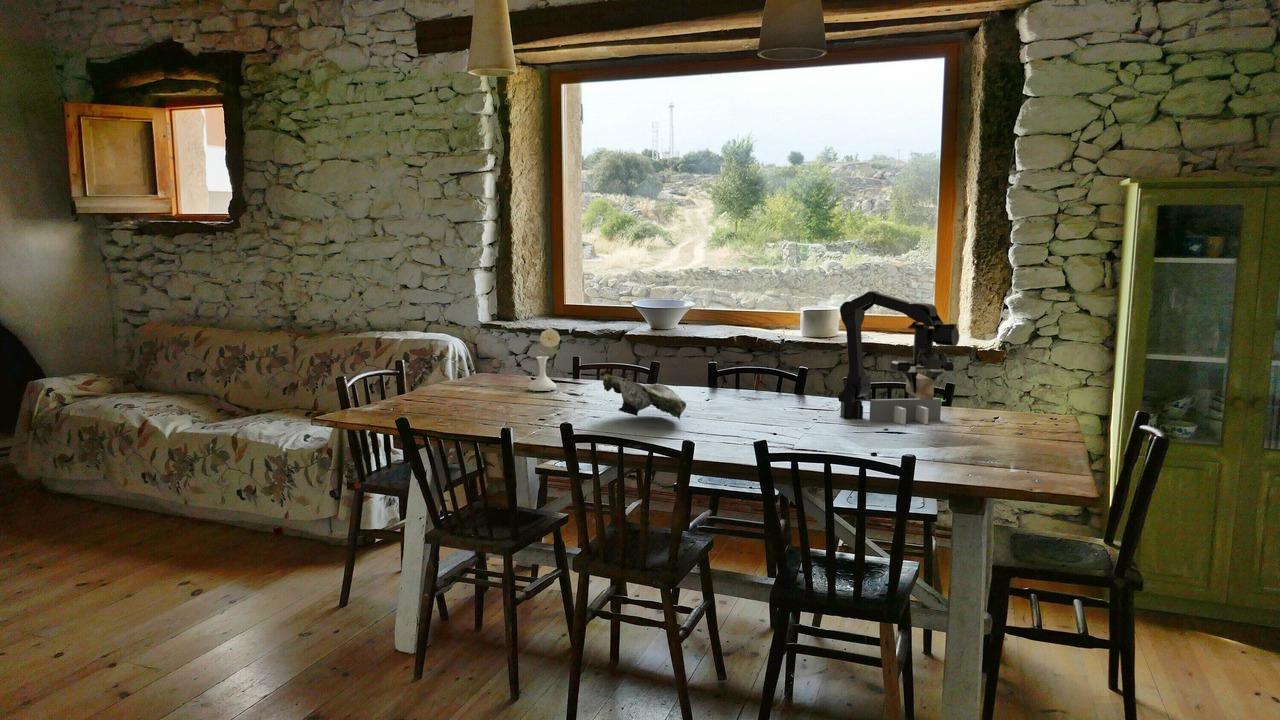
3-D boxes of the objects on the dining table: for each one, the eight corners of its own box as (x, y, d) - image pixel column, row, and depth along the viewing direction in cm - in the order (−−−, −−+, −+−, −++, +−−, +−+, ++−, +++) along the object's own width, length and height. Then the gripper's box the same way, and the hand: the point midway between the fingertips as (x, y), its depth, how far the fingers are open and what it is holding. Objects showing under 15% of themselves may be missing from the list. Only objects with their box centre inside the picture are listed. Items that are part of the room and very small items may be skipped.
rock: (581, 394, 277) (597, 351, 280) (613, 419, 303) (626, 379, 307) (665, 415, 265) (679, 370, 269) (690, 439, 292) (703, 398, 296)
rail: (920, 399, 268) (921, 380, 268) (905, 391, 284) (906, 373, 284) (933, 399, 268) (934, 380, 268) (918, 391, 284) (918, 373, 283)
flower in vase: (524, 393, 339) (523, 329, 336) (532, 389, 350) (532, 327, 348) (556, 394, 337) (556, 330, 334) (564, 390, 348) (564, 328, 346)
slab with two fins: (879, 424, 279) (880, 403, 278) (869, 420, 287) (870, 399, 286) (949, 423, 283) (950, 402, 282) (937, 418, 290) (938, 398, 290)
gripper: (906, 346, 263) (904, 397, 265) (964, 346, 266) (961, 396, 268) (891, 343, 274) (889, 392, 276) (946, 342, 277) (944, 391, 278)
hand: (921, 393), depth 274 cm, fingers closed on rail, 4 cm apart
